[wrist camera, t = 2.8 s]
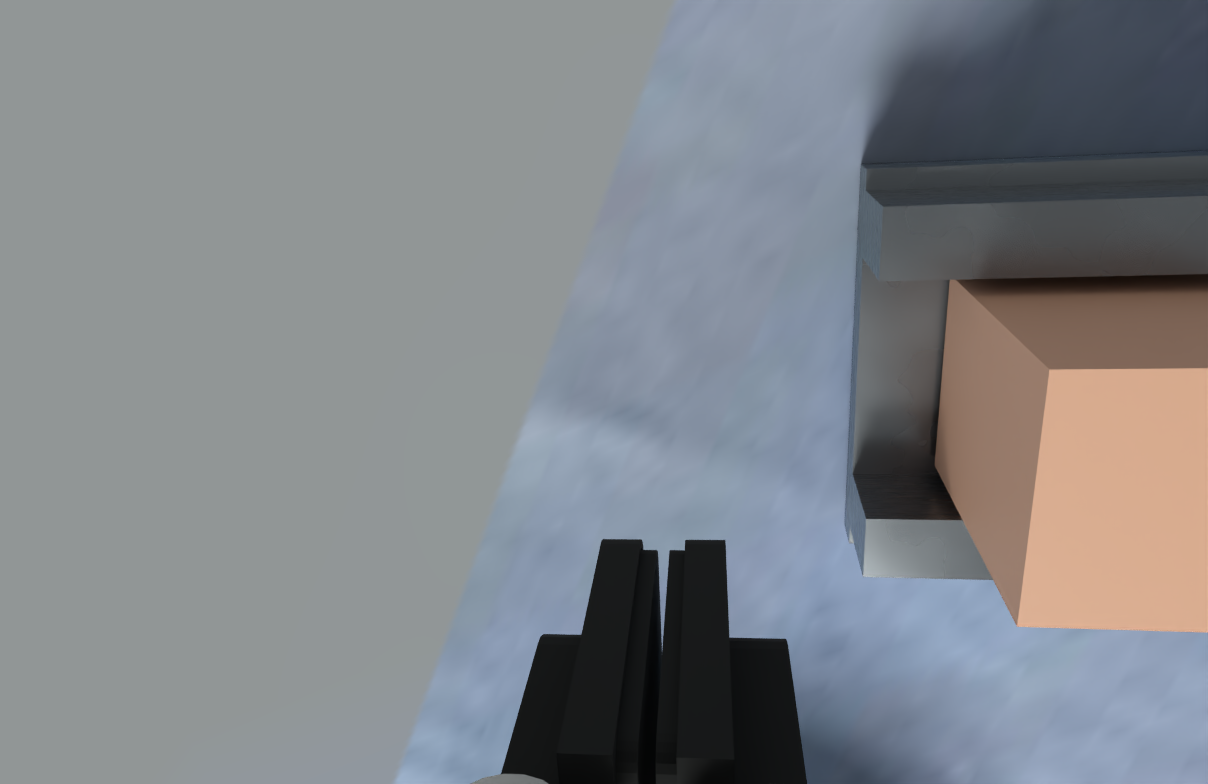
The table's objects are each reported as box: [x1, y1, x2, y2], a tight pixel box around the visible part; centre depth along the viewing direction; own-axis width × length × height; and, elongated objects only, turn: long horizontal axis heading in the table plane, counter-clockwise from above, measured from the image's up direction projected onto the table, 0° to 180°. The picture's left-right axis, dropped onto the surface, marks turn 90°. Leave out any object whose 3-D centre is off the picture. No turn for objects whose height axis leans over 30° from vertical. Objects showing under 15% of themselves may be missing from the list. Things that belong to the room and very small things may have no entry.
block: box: [935, 274, 1208, 632], centre depth 18 cm, size 6×5×7 cm
